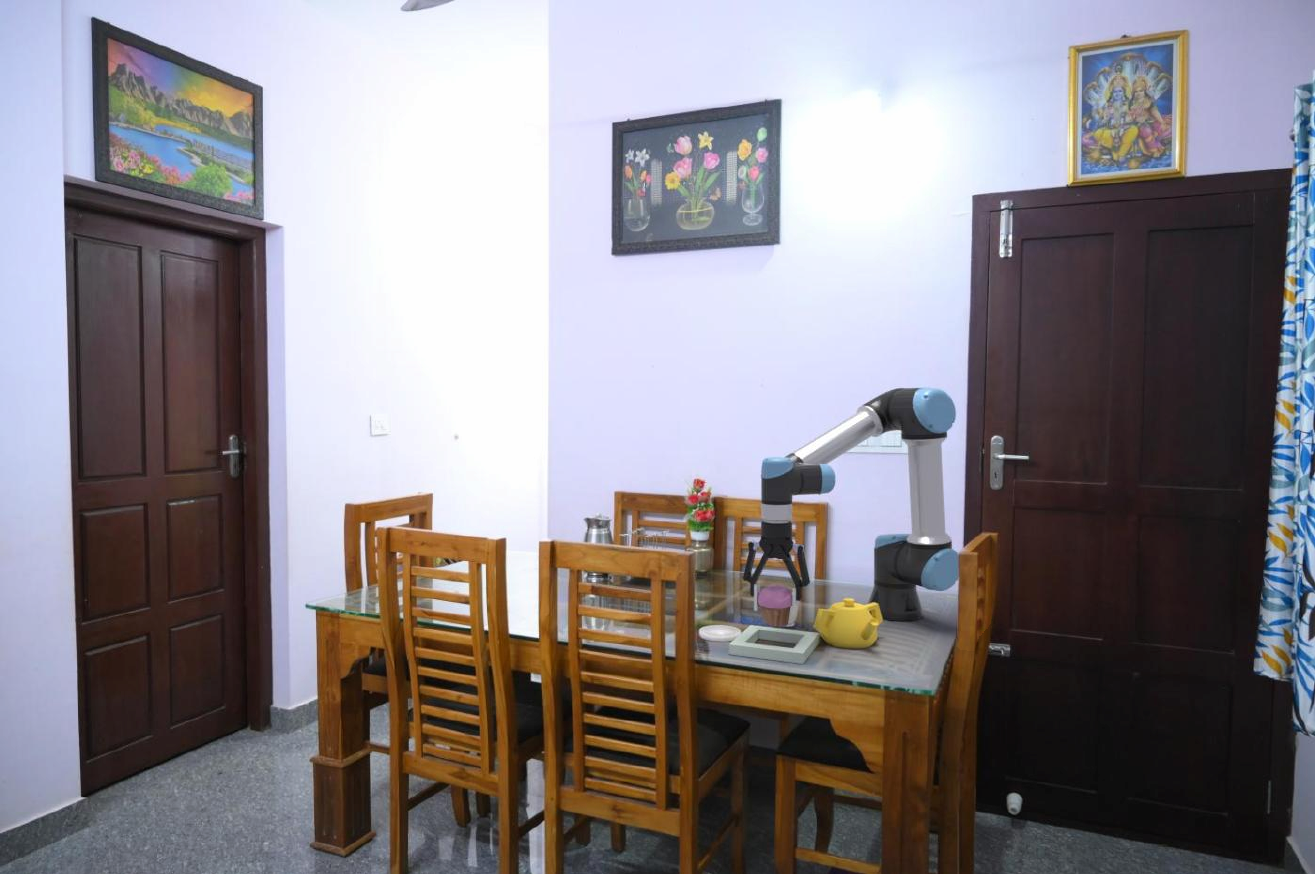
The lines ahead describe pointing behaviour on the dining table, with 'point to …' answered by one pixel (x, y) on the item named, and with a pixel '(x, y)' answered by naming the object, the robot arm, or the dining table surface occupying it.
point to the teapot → (849, 624)
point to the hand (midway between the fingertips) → (775, 611)
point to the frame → (798, 654)
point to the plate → (719, 633)
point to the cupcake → (775, 605)
